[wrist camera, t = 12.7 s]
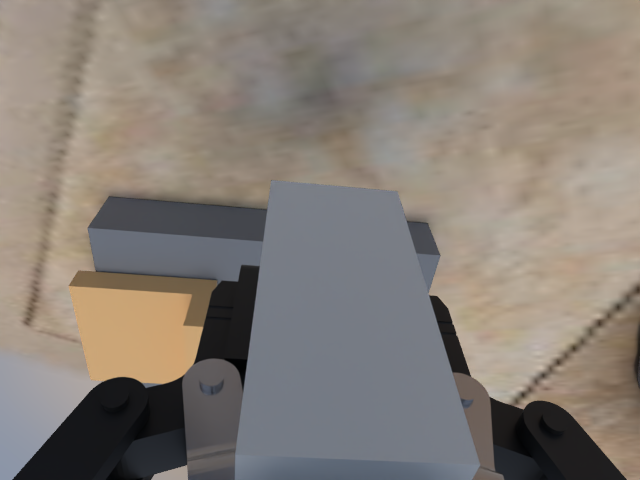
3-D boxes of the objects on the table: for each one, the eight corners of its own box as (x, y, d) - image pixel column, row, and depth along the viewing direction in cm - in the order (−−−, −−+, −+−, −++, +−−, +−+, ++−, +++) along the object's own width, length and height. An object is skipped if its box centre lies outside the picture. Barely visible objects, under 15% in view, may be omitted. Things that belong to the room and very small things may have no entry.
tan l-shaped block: (78, 270, 28) (48, 317, 25) (217, 280, 29) (206, 327, 25) (98, 363, 32) (75, 413, 29) (218, 370, 33) (208, 419, 30)
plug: (271, 180, 15) (235, 454, 8) (397, 191, 15) (480, 464, 8) (264, 299, 18) (232, 580, 10) (370, 306, 18) (412, 584, 11)
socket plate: (108, 196, 29) (87, 227, 26) (427, 223, 31) (440, 255, 28) (133, 354, 37) (118, 391, 34) (386, 368, 39) (393, 405, 36)
